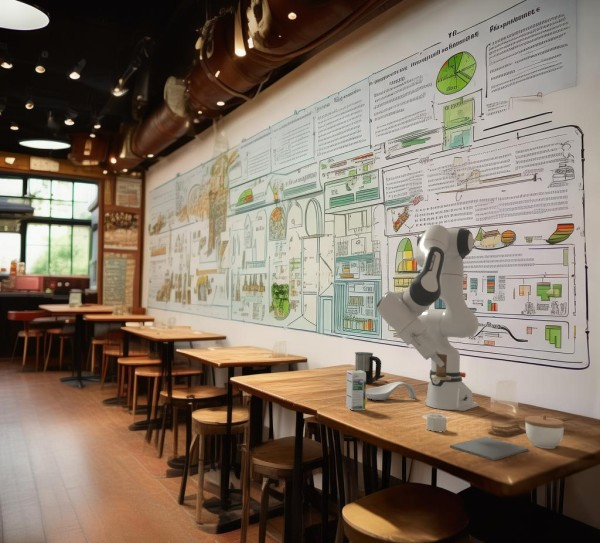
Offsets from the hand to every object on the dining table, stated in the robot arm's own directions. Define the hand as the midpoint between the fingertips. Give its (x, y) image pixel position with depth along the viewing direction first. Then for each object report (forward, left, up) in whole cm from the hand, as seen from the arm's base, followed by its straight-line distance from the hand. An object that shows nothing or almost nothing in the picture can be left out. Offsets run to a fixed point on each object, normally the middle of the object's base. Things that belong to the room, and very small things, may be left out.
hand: (443, 365), depth 171 cm
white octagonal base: (0, -3, -22) cm, 22 cm away
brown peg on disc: (0, -1, -4) cm, 4 cm away
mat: (+4, +19, -22) cm, 29 cm away
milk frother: (-50, -82, -22) cm, 98 cm away
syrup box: (+2, -39, -22) cm, 44 cm away
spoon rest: (-26, -46, -22) cm, 57 cm away
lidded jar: (-14, +26, -22) cm, 37 cm away
